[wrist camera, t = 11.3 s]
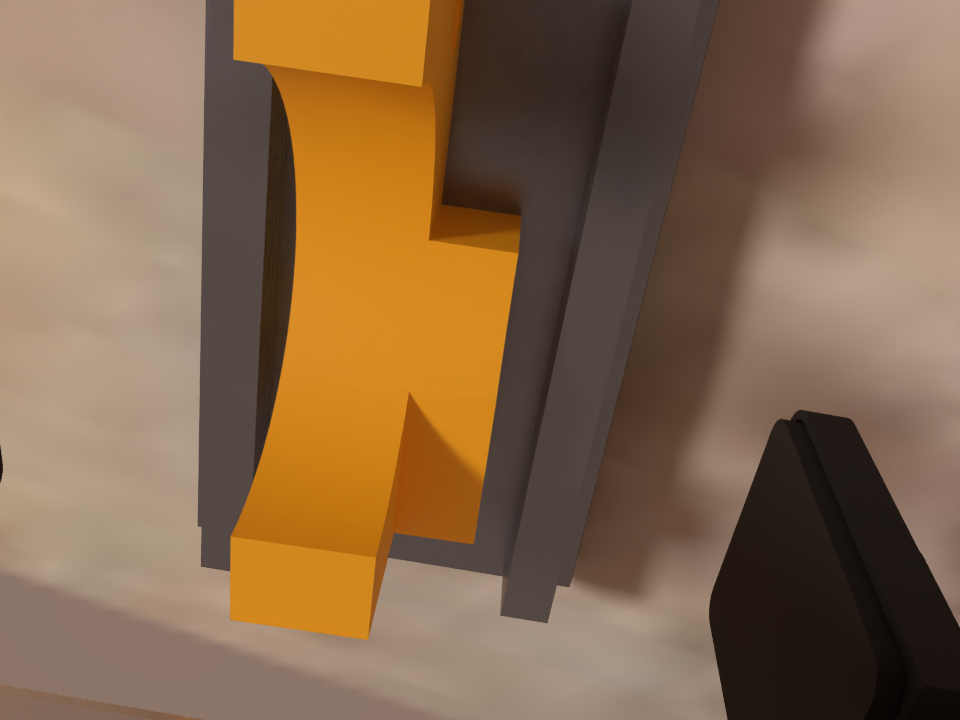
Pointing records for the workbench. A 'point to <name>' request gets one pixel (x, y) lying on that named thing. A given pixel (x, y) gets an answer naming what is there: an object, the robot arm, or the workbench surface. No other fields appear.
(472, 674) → the workbench surface
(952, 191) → the workbench surface
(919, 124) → the workbench surface
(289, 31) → the pipe clamp
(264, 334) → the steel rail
